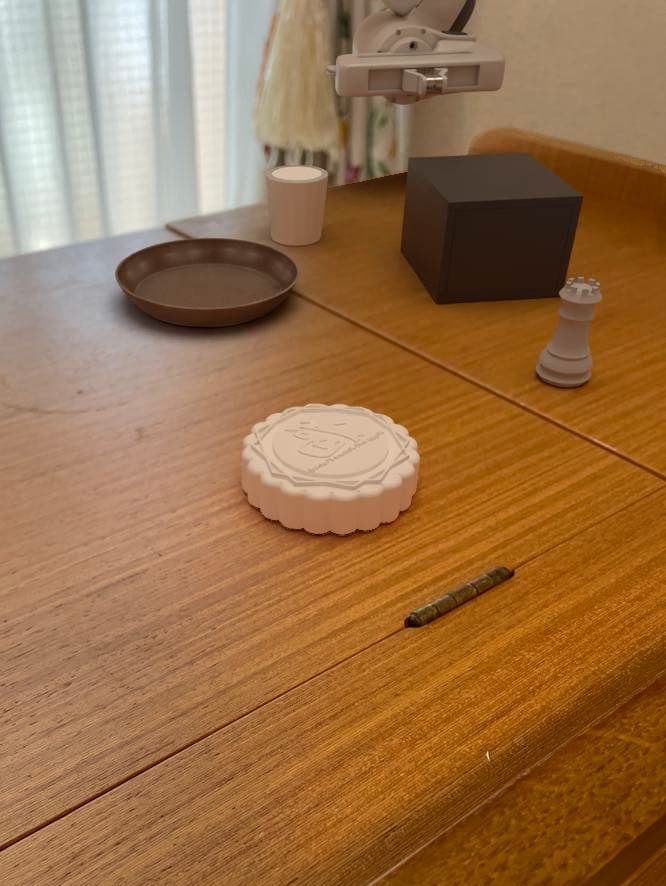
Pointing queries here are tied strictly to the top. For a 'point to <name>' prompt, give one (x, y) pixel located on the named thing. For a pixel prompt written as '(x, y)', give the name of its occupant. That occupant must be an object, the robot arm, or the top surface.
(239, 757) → the top surface
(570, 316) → the rook chess piece
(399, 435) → the mooncake
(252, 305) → the plant saucer
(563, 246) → the cabinet
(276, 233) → the pale pink cup
